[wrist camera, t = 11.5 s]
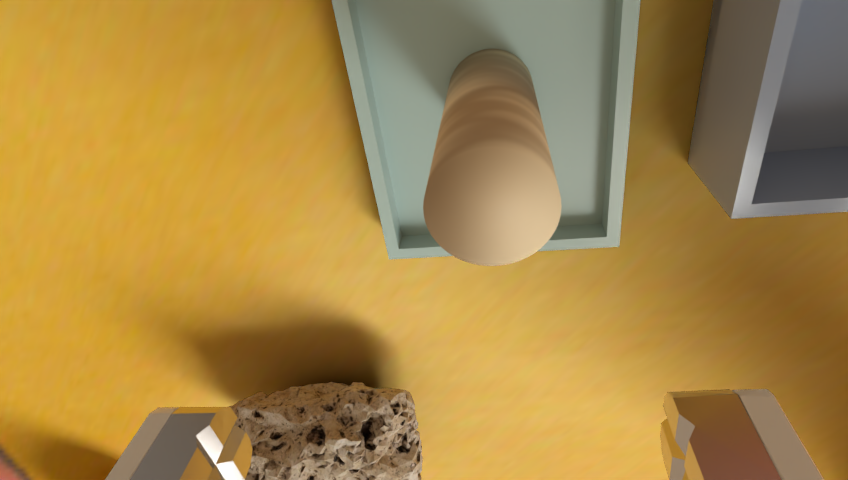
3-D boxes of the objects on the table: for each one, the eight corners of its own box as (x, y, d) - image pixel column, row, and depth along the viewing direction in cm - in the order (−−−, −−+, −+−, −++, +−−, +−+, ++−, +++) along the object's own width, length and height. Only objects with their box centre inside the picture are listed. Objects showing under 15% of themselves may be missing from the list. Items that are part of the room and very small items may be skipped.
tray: (636, -153, 17) (654, -159, 15) (609, 222, 25) (619, 246, 24) (327, -96, 19) (310, -97, 17) (395, 235, 27) (389, 259, 25)
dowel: (532, 43, 20) (562, 140, 12) (534, 128, 22) (560, 262, 14) (443, 53, 21) (413, 153, 12) (453, 135, 23) (432, 268, 14)
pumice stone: (253, 436, 39) (206, 543, 33) (223, 327, 33) (157, 433, 26) (428, 456, 38) (416, 570, 32) (434, 347, 32) (420, 463, 25)
